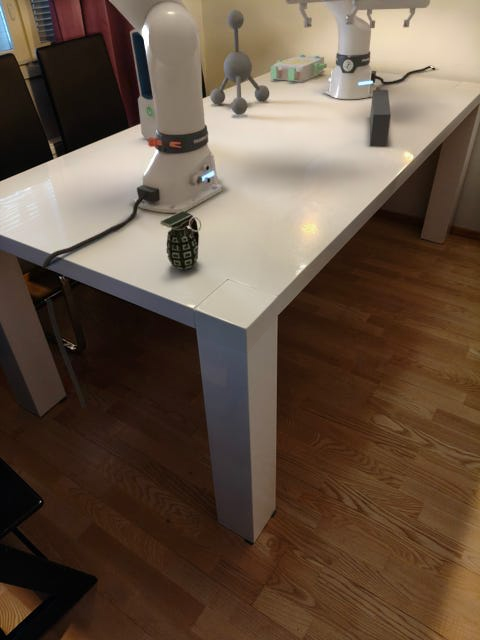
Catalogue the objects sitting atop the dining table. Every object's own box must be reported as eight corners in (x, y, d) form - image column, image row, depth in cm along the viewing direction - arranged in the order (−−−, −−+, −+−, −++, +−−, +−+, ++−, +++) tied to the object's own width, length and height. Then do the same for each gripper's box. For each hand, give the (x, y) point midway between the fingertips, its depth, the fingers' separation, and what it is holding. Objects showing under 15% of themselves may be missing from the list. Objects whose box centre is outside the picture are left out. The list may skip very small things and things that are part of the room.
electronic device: (141, 137, 154) (123, 28, 136) (159, 131, 158) (144, 24, 140) (166, 145, 147) (151, 30, 129) (185, 138, 151) (172, 26, 133)
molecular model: (288, 106, 174) (289, 7, 156) (237, 118, 165) (232, 15, 147) (250, 94, 190) (247, 3, 172) (202, 105, 181) (193, 10, 163)
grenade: (182, 278, 88) (175, 228, 82) (162, 268, 91) (153, 219, 85) (208, 263, 92) (203, 214, 85) (187, 253, 95) (181, 205, 89)
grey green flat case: (293, 53, 221) (333, 55, 211) (293, 68, 225) (332, 72, 215) (262, 63, 205) (303, 67, 195) (262, 80, 209) (303, 84, 199)
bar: (386, 146, 137) (390, 114, 132) (369, 146, 138) (373, 114, 133) (384, 118, 158) (387, 89, 153) (369, 118, 159) (373, 89, 154)
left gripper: (378, -56, 102) (370, 20, 111) (281, -50, 101) (281, 26, 110) (387, -56, 97) (379, 24, 106) (286, -50, 96) (285, 30, 105)
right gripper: (435, -35, 132) (425, 25, 140) (358, -31, 136) (353, 26, 144) (437, -33, 127) (427, 28, 135) (357, -30, 131) (352, 30, 139)
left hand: (328, 25), depth 108 cm, fingers open, 8 cm apart
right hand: (388, 27), depth 140 cm, fingers open, 8 cm apart
